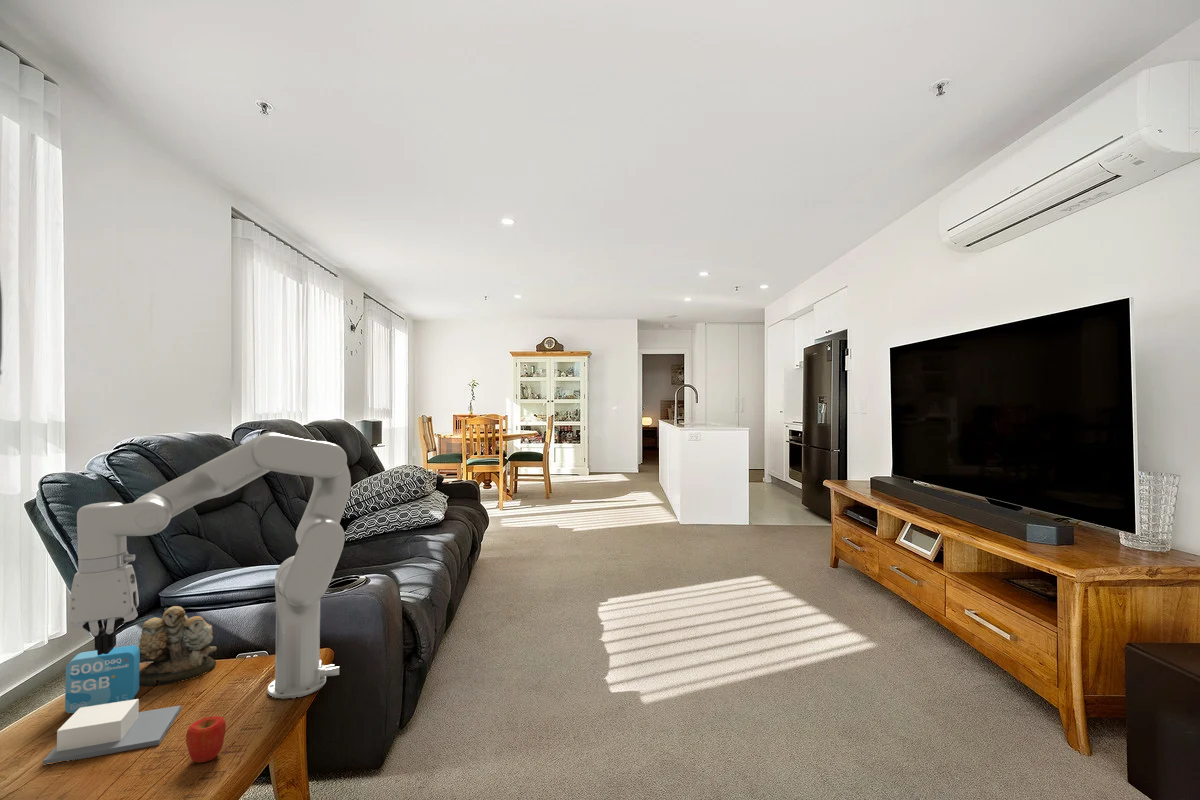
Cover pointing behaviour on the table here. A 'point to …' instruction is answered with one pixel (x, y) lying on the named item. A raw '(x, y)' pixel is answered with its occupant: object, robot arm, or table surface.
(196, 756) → the apple
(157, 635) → the owl figurine
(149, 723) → the board
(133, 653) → the data package
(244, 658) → the table surface
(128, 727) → the slab
